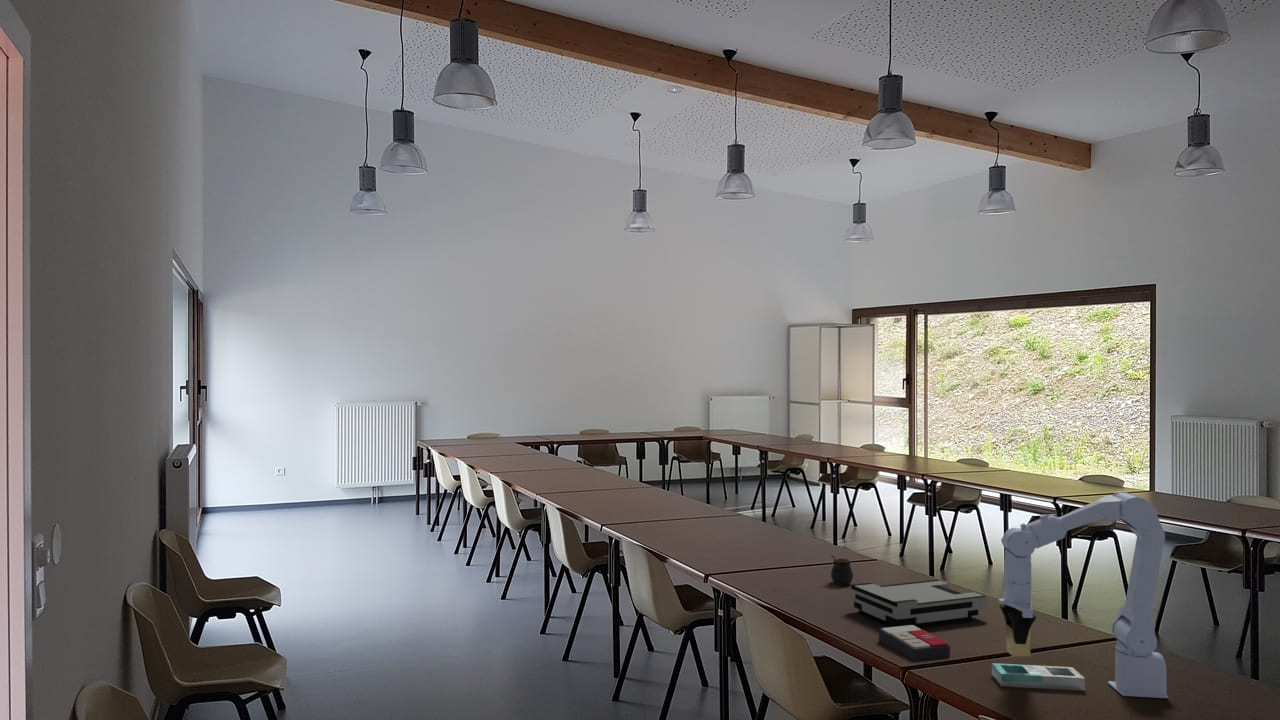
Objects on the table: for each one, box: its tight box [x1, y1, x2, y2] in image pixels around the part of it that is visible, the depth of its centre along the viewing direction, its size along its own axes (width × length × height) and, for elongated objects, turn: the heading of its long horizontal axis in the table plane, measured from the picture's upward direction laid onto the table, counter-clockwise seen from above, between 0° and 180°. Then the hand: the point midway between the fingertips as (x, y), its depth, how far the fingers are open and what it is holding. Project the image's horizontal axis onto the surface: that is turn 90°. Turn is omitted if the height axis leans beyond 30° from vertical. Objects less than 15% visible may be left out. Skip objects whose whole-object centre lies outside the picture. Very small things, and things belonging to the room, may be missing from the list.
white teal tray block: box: [991, 662, 1086, 692], centre depth 193 cm, size 18×7×3 cm, turn 83°
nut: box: [1005, 624, 1032, 658], centre depth 193 cm, size 4×4×6 cm
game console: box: [850, 579, 988, 629], centre depth 245 cm, size 21×32×8 cm, turn 112°
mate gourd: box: [829, 553, 854, 586], centre depth 281 cm, size 7×8×10 cm
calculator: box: [878, 625, 951, 661], centre depth 216 cm, size 11×4×15 cm
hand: (1017, 640), depth 193 cm, fingers closed on nut, 4 cm apart
